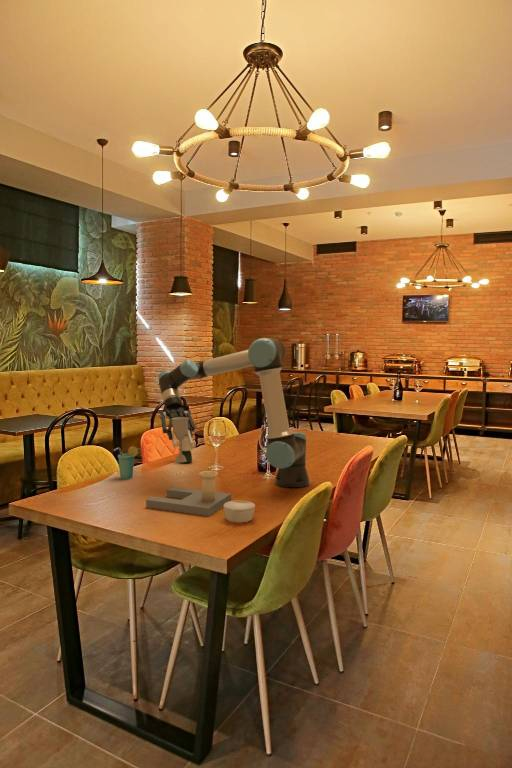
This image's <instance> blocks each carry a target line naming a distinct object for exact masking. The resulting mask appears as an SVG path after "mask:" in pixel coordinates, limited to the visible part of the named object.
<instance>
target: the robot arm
mask: <svg viewBox="0 0 512 768" xmlns="http://www.w3.org/2000/svg"><path fill="white" fill-rule="evenodd" d="M286 351H287V350H286V347H285V345H284V343H283V342H282V341H281V340H279V339H277V338H273V337H271V338H269V337H261V338H258V339H256V340H254V341H253V342H252V343H251V344H250V345H249V347H248V349H245V350H241V351H238V352H234V353H230V354H225V355H222V356H218V357H214V358H210V359H206V360H202V361H198V362H195V361H194V360H192V359H186V360H185V361H183V362H181V364H179V365H177V367H175V368H174V369H172V371H171V370H164V371H161V372H160V373H158V376H157V380H158V386H159V389H160V392H161V393H160V394H161V398H162V399H161V400H162V401H163V406H164V410H165V411H163V410H162V411H159V415H158V417H159V418H160V422H161V429H162V433H163V434H166V435H167V436H168V440H169V441H171V444H172V447H173V448H174V449H175V448H176V447H177V446H176V441H177V439H176V436H175V434H174V432H173V430H172V429H173V420H172V418H176V417H187V418H189V419H188V431H187V434H186V436H187V438H188V442H189V446H192V443H193V442H194V441H193V442H192V437H194V434H193V432H195V430H196V426H195V423H194V420H193V418H192V414H191V413H192V412H191V410H190V409H188V410H185V409H184V407H183V403H182V400H181V396H180V393H179V387H181V386H182V385H183V384H185V383H186V382H187V381H194V380H201V379H205V378H208V377H211V376H215V375H219V374H225V373H229V372H232V371H233V372H234V371H237V370H241V369H245V368H249V367H253V369H254V373H255V375H257V376H258V377H259V382H260V388H261V393H262V394H261V395H262V400H263V405H264V410H265V416H266V421H267V428H268V434H267V436H266V442H267V448H266V450H265V457H266V460H267V462H268V463H269V465H271V466H272V467H273V468H276V469H277V472H276V475H275V478H274V484H275V485H276V484H277V485H276V486H279V487H282V488H288V487H300V488H304V486H305V487H308V486H309V485H310V477H309V475H308V471H307V470H308V469H307V466H306V464H307V463H306V462H307V460H306V459H307V456H306V455H307V435H306V433H305V432H296V431H293V430H291V429H290V425H289V418H288V412H287V407H286V401H285V396H284V390H283V386H282V380H281V379H282V378H281V374H280V373H281V371H282V369H283V363H282V361H283V360H284V359H285V357H286ZM184 415H185V416H184ZM166 417H168V418H169V419H168V426H167V421H166ZM193 444H194V443H193ZM307 485H308V486H307Z"/></svg>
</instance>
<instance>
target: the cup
mask: <svg viewBox="0 0 512 768" xmlns="http://www.w3.org/2000/svg"><path fill="white" fill-rule="evenodd" d="M117 450H118V451H119V454H118V455H117V458H118V466H119V467H118V468H119V477H121V478H122V479H121V478H120V479H121V480H131V479H133V478H132V477H133V475H134V468H135V467H134V466H135V465H134V464H135V457H137V456H138V454H139V450H138V447H137V446H134V445H132V446H130V447H129V448H128V450H127V452H125V453H123V452H122V449H121V447H119V446H118V447H116V448H114V449H112V451H113V452H116V451H117ZM130 478H131V479H130Z"/></svg>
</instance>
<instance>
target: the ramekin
mask: <svg viewBox="0 0 512 768" xmlns="http://www.w3.org/2000/svg"><path fill="white" fill-rule="evenodd" d="M222 508H223V509H224V517H225V519H226V520H227V521H228V522H231V523H233V522H236V524H244V523H243V522H245V523H248V521H249V522H251V521H252V519H253V517H254V513H255V509H256V504H255V503H253V502H252V501H249V500H231V501H229V502H226V503H225V504H224V506H223V507H222ZM250 520H251V521H250Z"/></svg>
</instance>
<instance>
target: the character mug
mask: <svg viewBox="0 0 512 768" xmlns="http://www.w3.org/2000/svg"><path fill="white" fill-rule="evenodd" d="M193 437H194V436H193ZM193 437H192V442H193V443H192V446H189V442H188V438H187V435H186V436H185V438H184V440H182V449H183V450H182V455H184V456H185V458H186V460H187V461H186V462H181V463H183V464H187V463H188V464H189V463H192V462H193V455H192V451H193V449H196V448H197V443H196V441H194V438H193ZM175 447H178V448H179V440H177V439H176V446H175Z"/></svg>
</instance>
